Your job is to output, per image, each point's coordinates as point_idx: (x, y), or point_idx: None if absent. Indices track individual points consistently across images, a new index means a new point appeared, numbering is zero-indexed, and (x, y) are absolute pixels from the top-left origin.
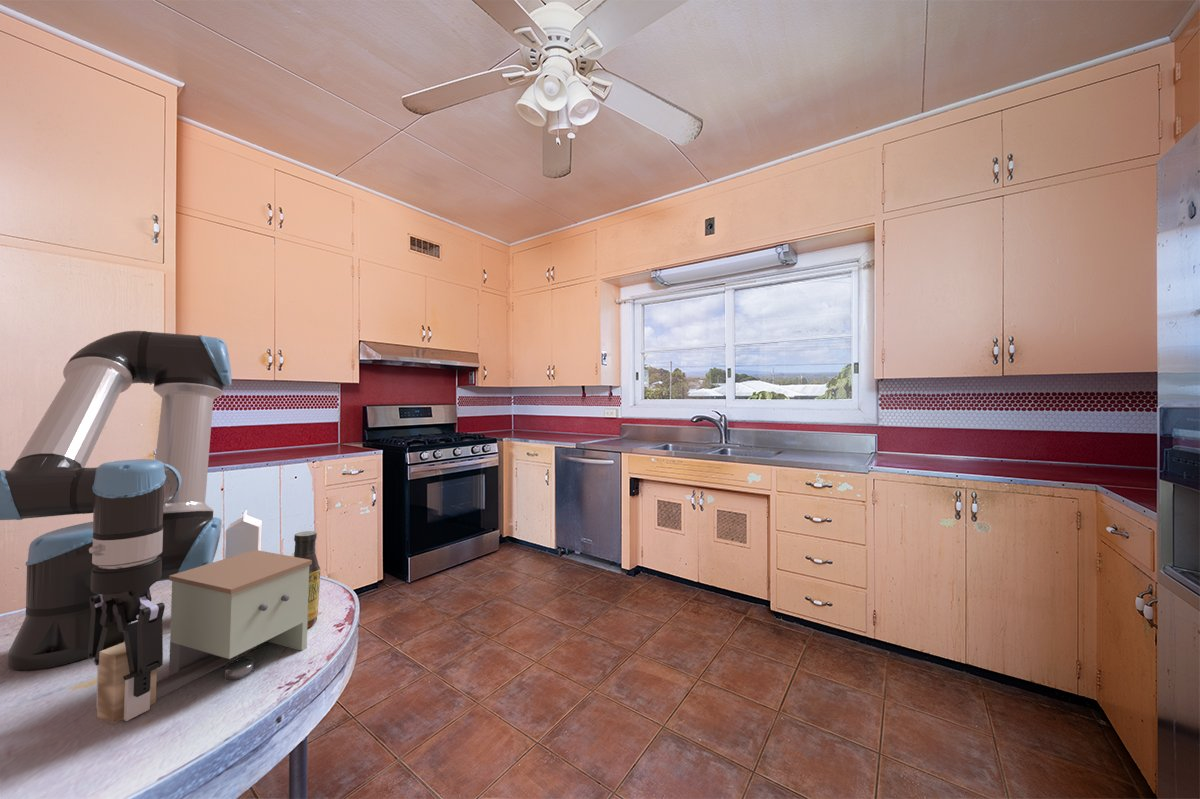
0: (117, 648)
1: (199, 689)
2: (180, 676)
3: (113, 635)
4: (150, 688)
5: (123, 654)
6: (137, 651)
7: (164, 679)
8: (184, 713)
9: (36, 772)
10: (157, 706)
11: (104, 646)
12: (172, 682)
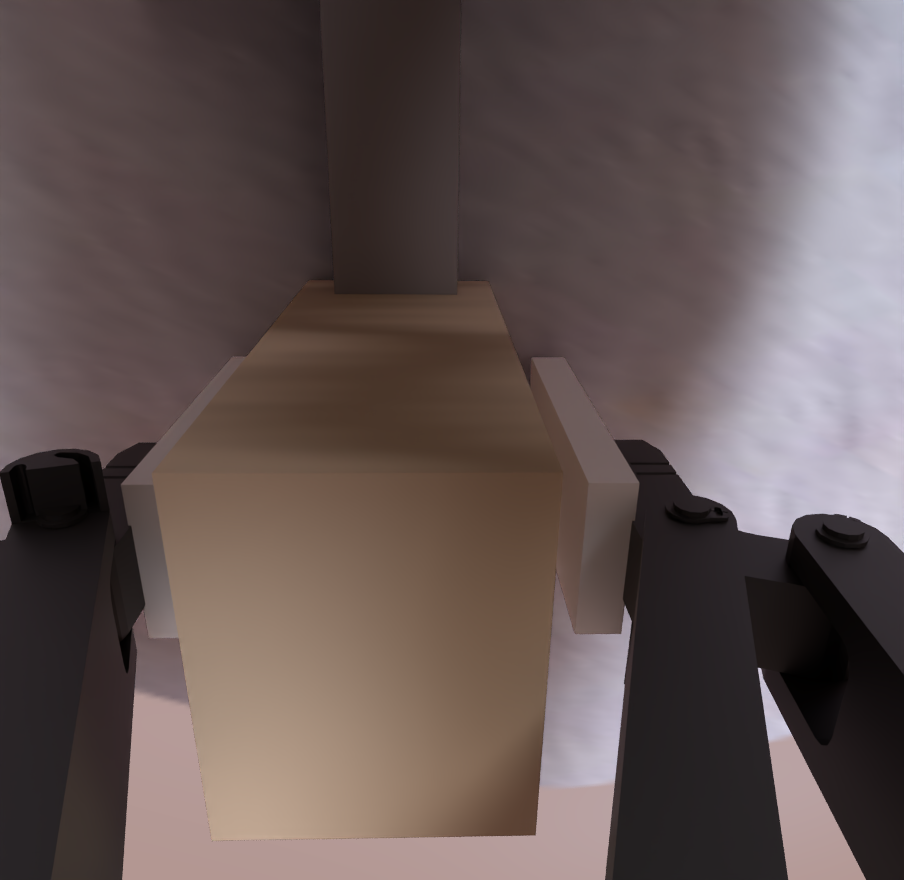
0: (312, 749)
1: (633, 63)
2: (427, 76)
3: (105, 854)
4: (592, 405)
5: (533, 773)
6: (861, 861)
7: (349, 157)
8: (799, 287)
9: (546, 737)
10: (549, 303)
11: (123, 792)
12: (455, 158)
